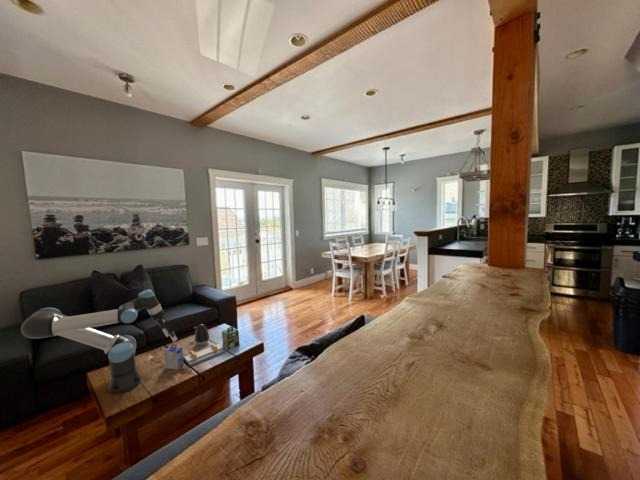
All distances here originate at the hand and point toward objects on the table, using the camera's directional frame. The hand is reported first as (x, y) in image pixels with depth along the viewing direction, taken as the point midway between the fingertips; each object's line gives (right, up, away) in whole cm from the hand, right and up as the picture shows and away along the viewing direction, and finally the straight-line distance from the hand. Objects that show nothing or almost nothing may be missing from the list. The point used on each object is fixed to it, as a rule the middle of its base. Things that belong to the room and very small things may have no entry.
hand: (171, 338), depth 178 cm
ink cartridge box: (+5, -17, -6) cm, 18 cm away
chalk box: (+33, -13, +20) cm, 41 cm away
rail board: (+19, -15, +7) cm, 25 cm away
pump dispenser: (+10, -13, +24) cm, 29 cm away
